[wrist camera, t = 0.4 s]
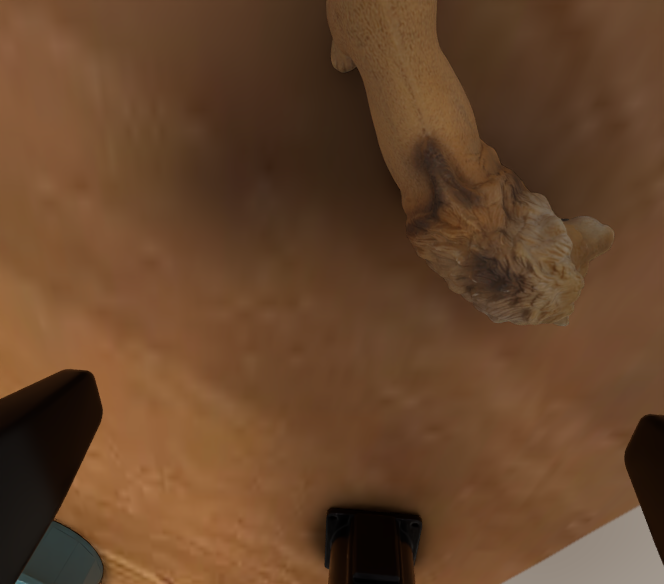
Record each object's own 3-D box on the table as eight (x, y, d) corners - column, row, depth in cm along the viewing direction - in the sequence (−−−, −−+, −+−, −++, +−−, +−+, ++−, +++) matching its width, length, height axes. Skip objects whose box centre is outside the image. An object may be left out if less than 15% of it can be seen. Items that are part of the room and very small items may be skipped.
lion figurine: (549, 201, 19) (677, 298, 11) (443, 264, 21) (490, 386, 13) (358, -154, 14) (350, -416, 6) (240, -33, 16) (120, -123, 8)
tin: (115, 600, 38) (91, 654, 34) (-10, 588, 38) (-48, 640, 35) (85, 516, 33) (52, 570, 29) (-61, 503, 33) (-111, 555, 30)
